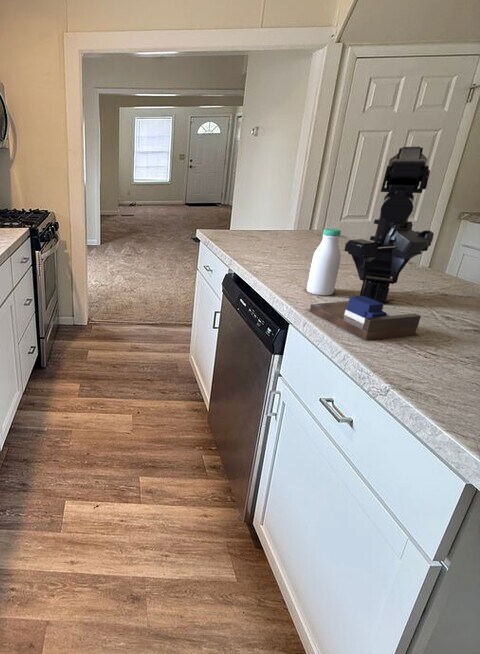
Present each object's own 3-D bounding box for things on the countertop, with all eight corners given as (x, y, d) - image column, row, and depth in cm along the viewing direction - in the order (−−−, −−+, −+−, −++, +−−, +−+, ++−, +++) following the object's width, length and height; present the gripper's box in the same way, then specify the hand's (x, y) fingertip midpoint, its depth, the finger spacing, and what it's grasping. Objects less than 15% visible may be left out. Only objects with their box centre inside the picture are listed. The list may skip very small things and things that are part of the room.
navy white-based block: (344, 314, 105) (348, 296, 103) (358, 313, 106) (363, 295, 104) (369, 327, 98) (375, 307, 96) (385, 325, 98) (390, 306, 96)
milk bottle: (338, 295, 125) (352, 231, 118) (313, 296, 125) (326, 231, 118) (325, 288, 132) (338, 227, 125) (301, 288, 133) (313, 227, 125)
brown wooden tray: (309, 310, 114) (312, 294, 112) (352, 306, 116) (356, 290, 114) (365, 339, 96) (370, 320, 94) (415, 334, 98) (421, 315, 96)
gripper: (388, 224, 87) (371, 292, 93) (460, 219, 90) (439, 285, 96) (349, 216, 97) (336, 278, 103) (416, 212, 100) (399, 272, 106)
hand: (377, 278), depth 102 cm, fingers open, 9 cm apart
